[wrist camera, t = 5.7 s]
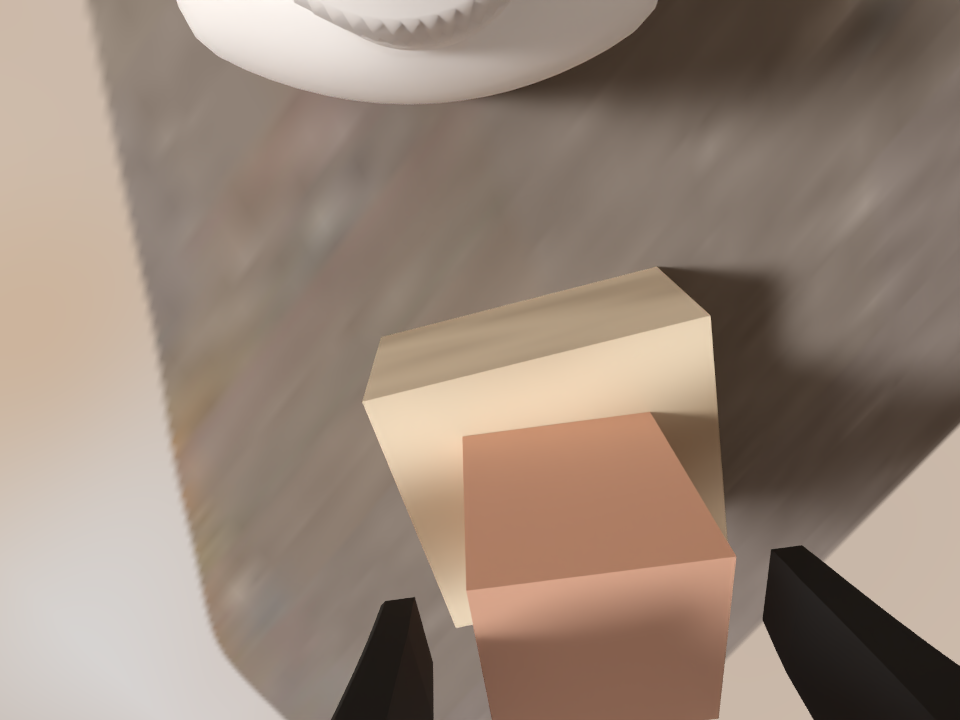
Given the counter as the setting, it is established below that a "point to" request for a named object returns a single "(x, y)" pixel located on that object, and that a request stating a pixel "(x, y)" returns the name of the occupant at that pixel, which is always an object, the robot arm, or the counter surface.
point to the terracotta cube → (594, 574)
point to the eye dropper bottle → (411, 42)
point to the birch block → (541, 393)
